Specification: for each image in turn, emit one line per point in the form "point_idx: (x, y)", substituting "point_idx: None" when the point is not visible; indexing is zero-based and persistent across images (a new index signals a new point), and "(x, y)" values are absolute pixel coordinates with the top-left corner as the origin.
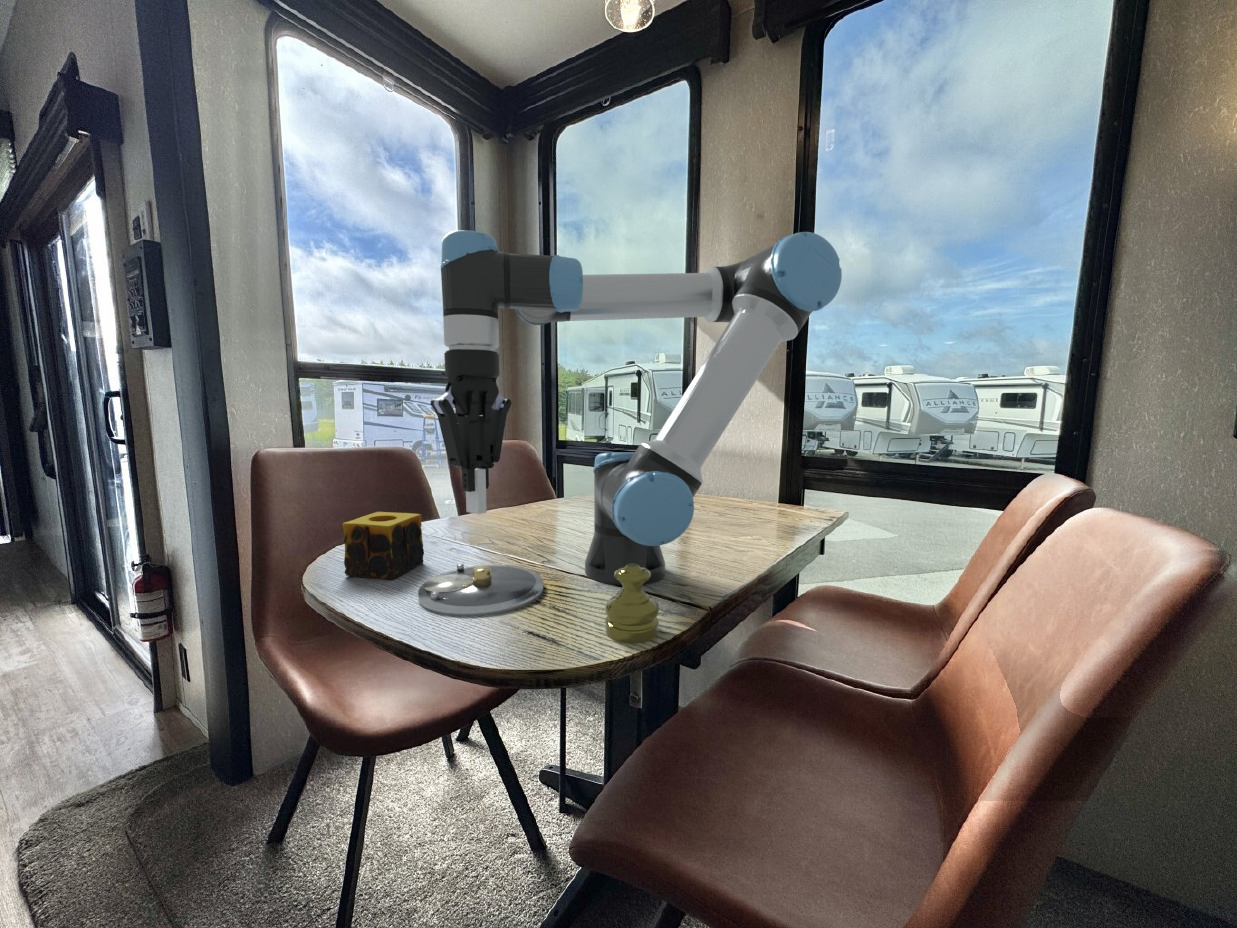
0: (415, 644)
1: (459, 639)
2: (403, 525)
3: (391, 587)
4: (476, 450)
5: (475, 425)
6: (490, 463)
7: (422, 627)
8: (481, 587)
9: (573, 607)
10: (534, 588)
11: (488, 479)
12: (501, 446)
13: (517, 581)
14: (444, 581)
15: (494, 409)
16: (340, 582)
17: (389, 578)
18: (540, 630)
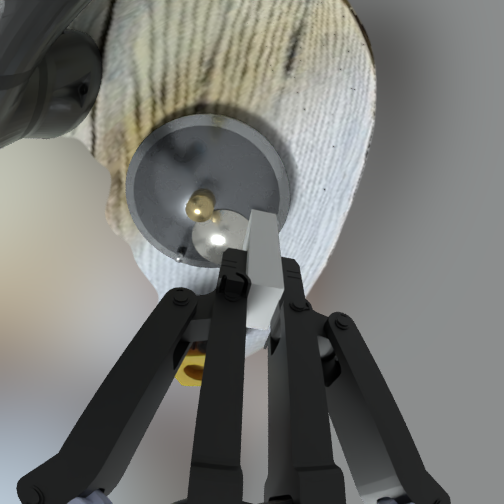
0: (357, 176)
1: (334, 138)
2: (193, 351)
3: None
4: (287, 349)
5: (295, 452)
6: (217, 292)
7: (321, 195)
8: (215, 193)
9: (193, 56)
10: (180, 126)
11: (222, 263)
12: (140, 329)
13: (173, 162)
14: (223, 245)
15: (103, 493)
16: (254, 332)
17: None
18: (277, 59)
